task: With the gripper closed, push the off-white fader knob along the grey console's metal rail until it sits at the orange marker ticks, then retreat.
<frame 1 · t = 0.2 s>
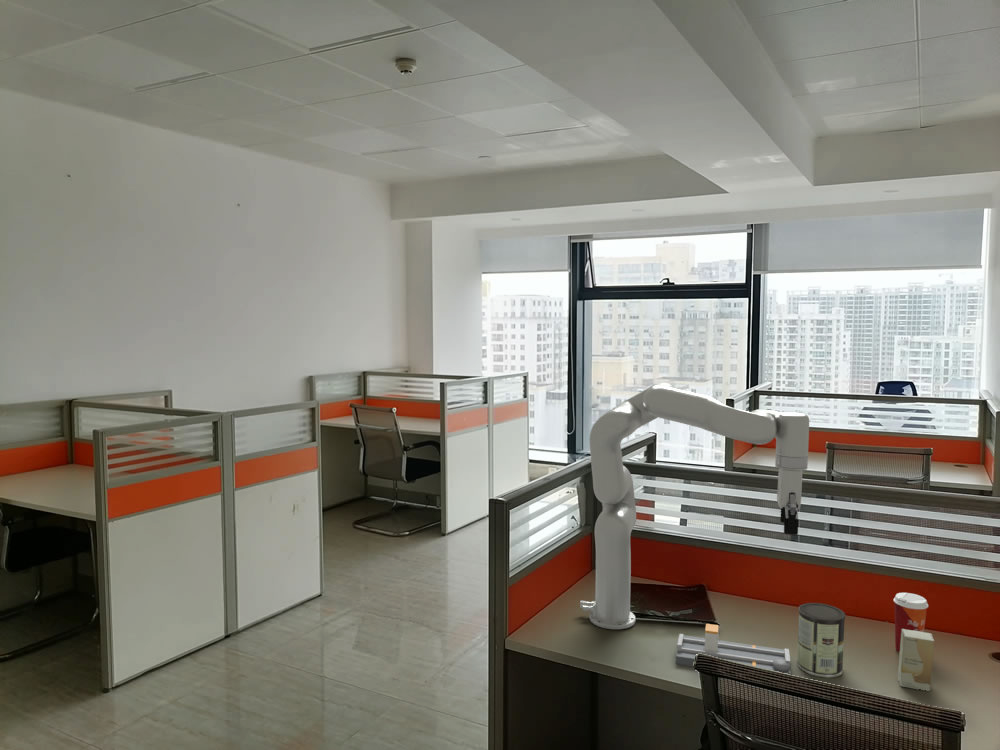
hand: (788, 528, 186), 31 cm above the table, fingers open, 9 cm apart
coffee can: (819, 667, 178), on the table
console: (732, 660, 181), on the table
fader: (711, 638, 182), point 5 cm above the table, slide at -5.0 cm
paper cup: (908, 651, 186), on the table
skincare box: (914, 685, 169), on the table
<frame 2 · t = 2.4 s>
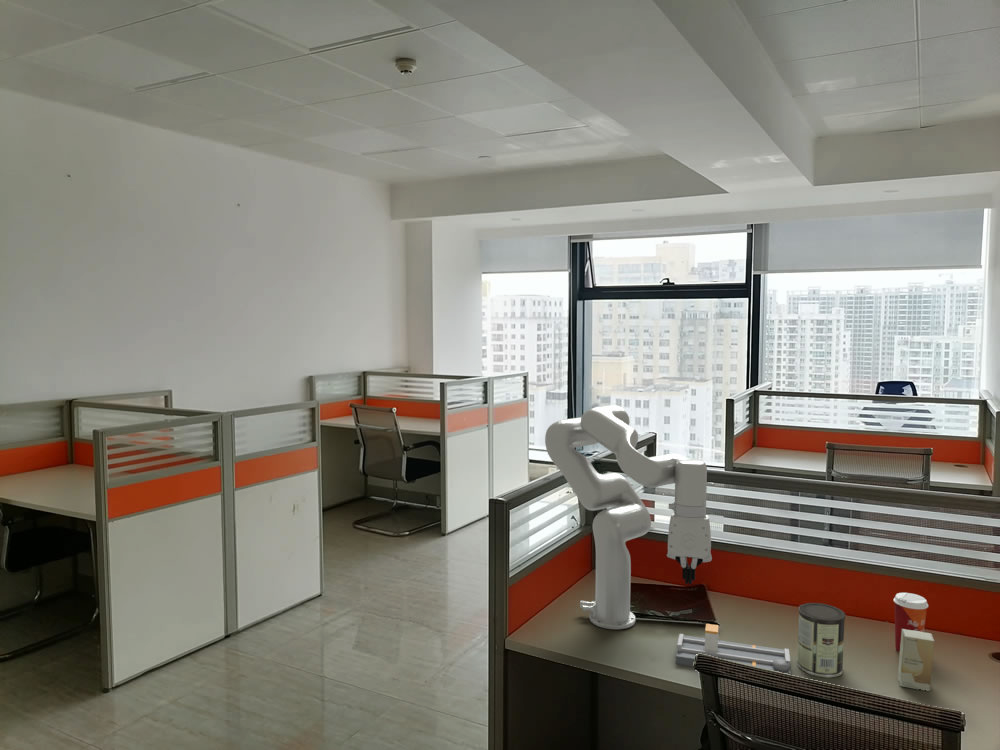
hand: (688, 582, 182), 19 cm above the table, fingers closed
nothing on the table moved.
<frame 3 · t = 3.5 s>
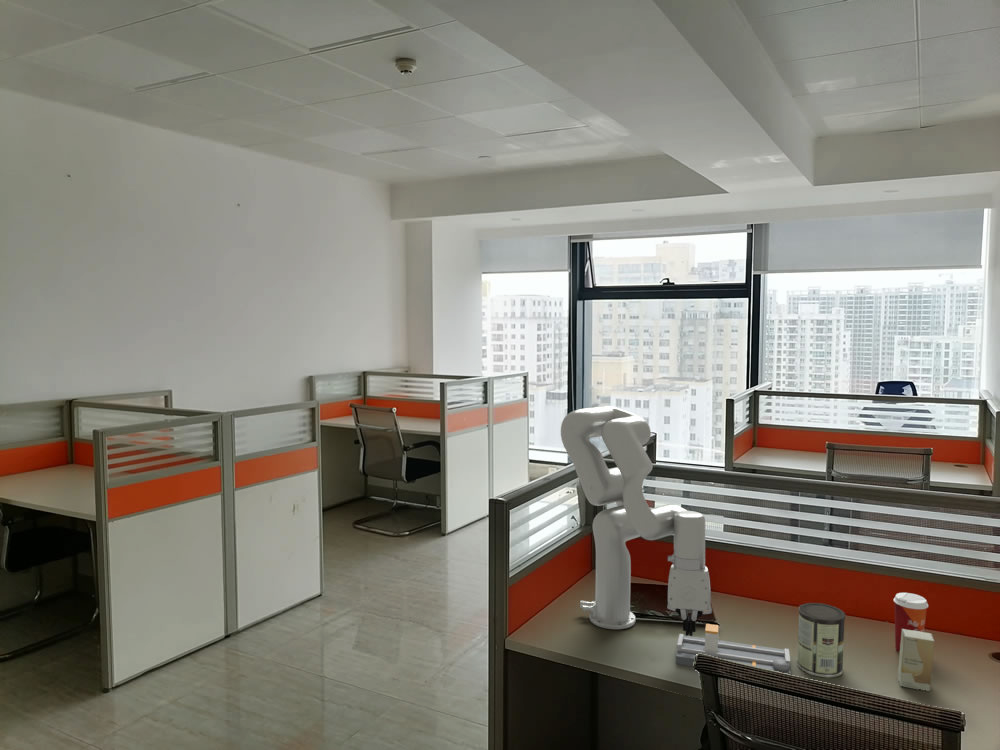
hand: (689, 633, 183), 6 cm above the table, fingers closed
nothing on the table moved.
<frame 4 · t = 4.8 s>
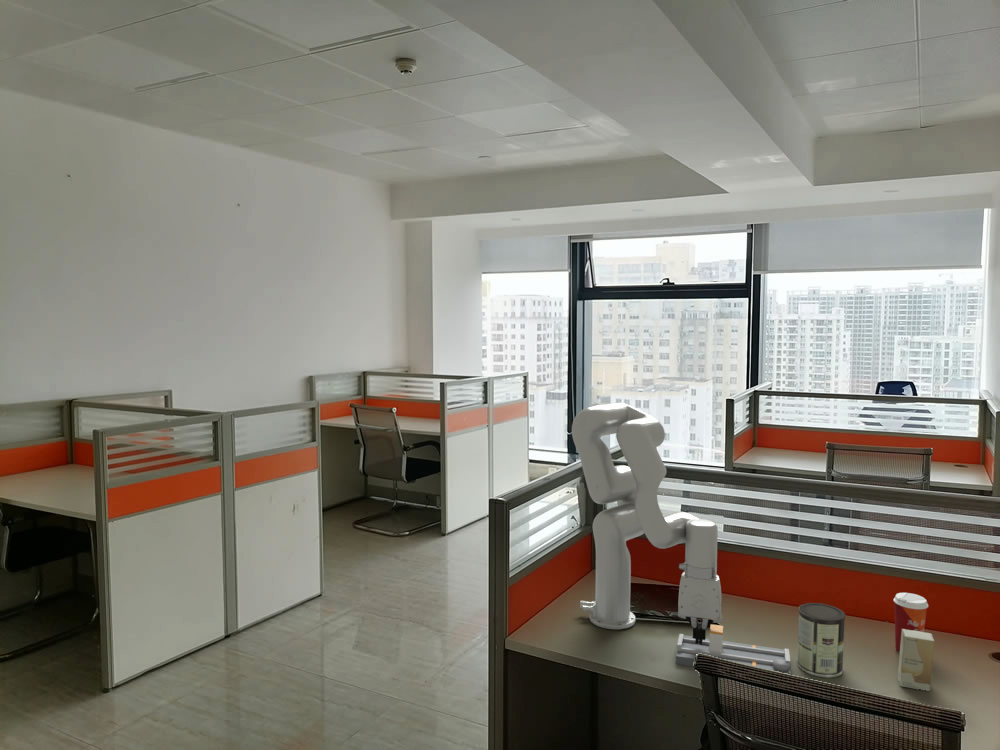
hand: (699, 641, 183), 4 cm above the table, fingers closed
fader: (716, 639, 181), point 5 cm above the table, slide at -3.9 cm, touching gripper
everything else where it was.
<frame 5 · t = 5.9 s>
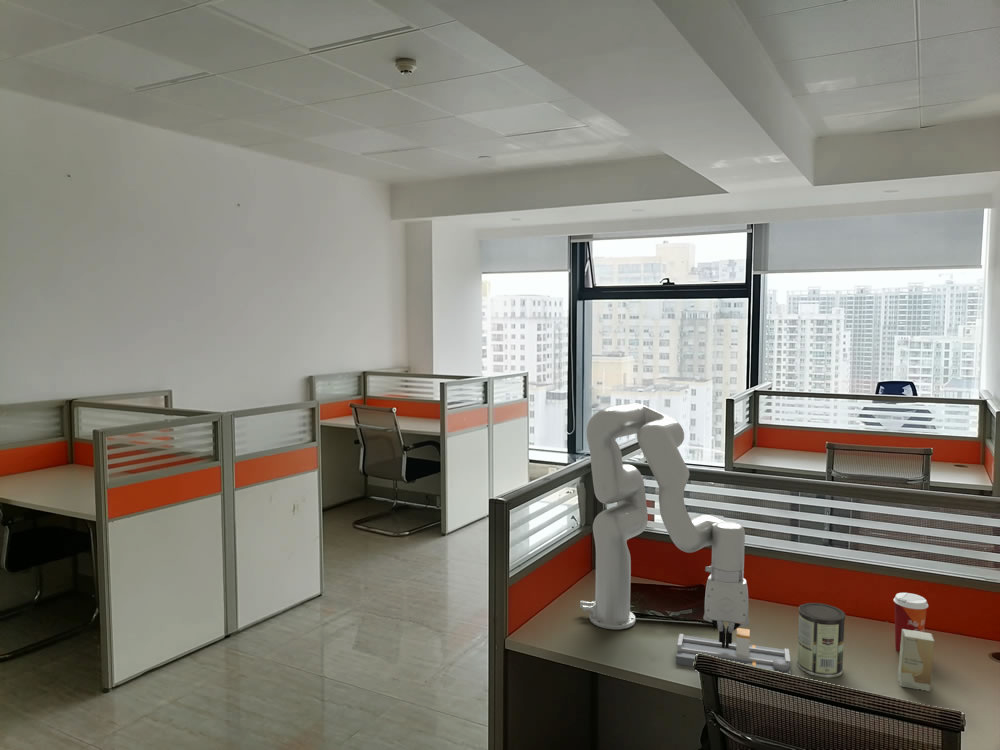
hand: (725, 645, 181), 4 cm above the table, fingers closed
fader: (742, 643, 179), point 5 cm above the table, slide at 2.4 cm, touching gripper
everything else where it was.
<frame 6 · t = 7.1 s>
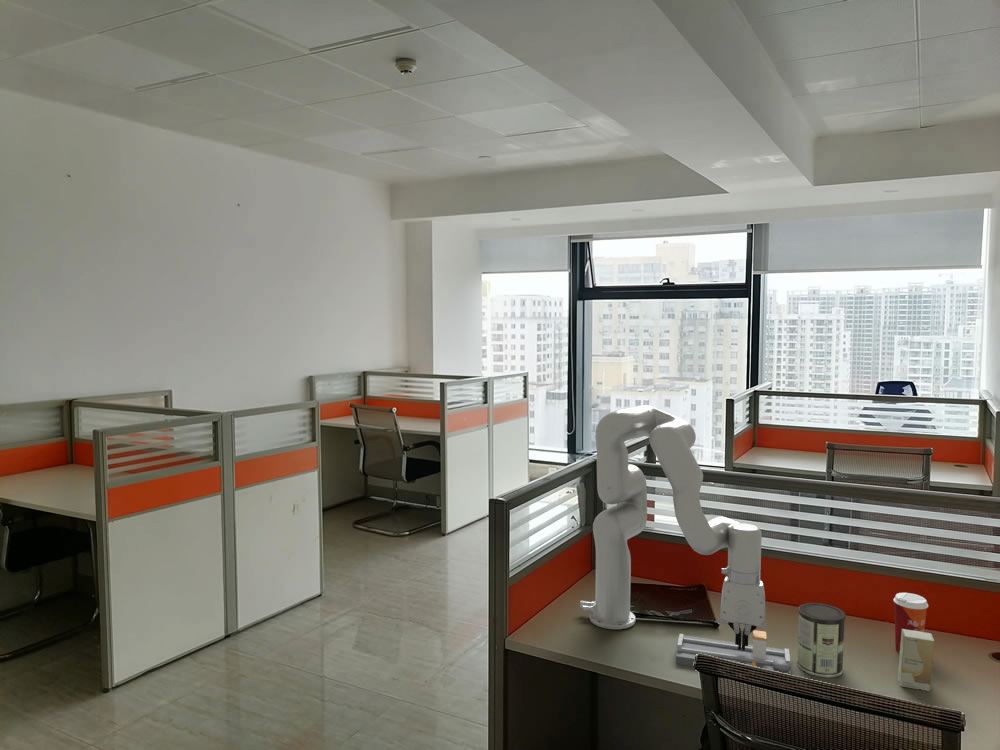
hand: (741, 647, 180), 4 cm above the table, fingers closed
fader: (759, 645, 178), point 5 cm above the table, slide at 6.1 cm, touching gripper
everything else where it was.
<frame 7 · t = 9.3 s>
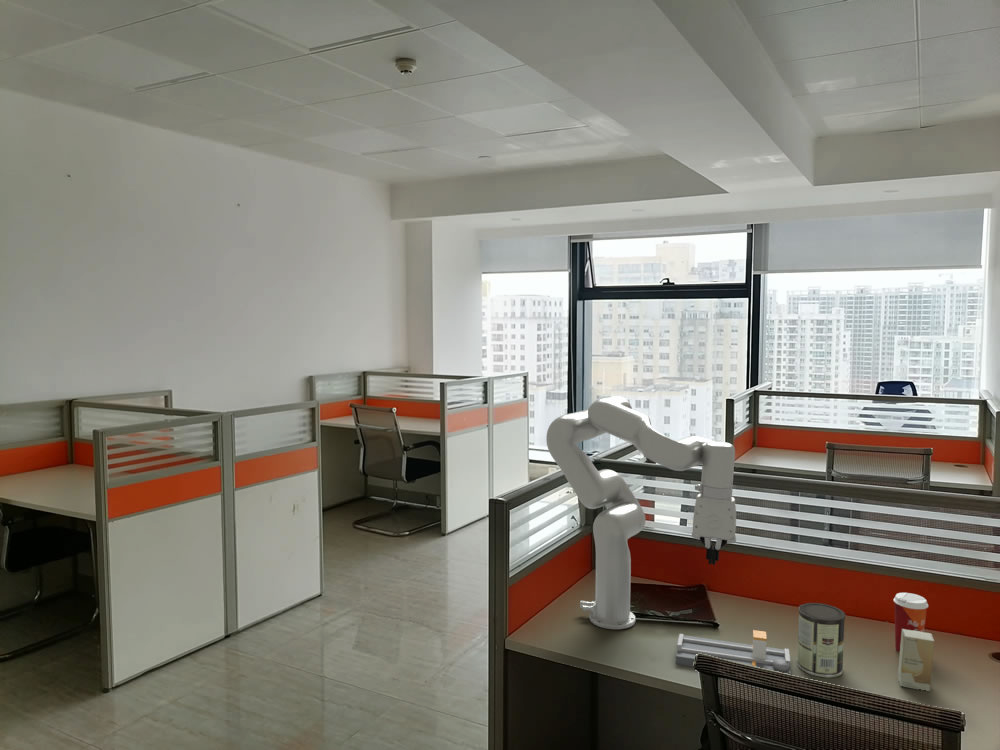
hand: (712, 562, 184), 23 cm above the table, fingers closed
fader: (759, 645, 178), point 5 cm above the table, slide at 6.1 cm
everything else where it was.
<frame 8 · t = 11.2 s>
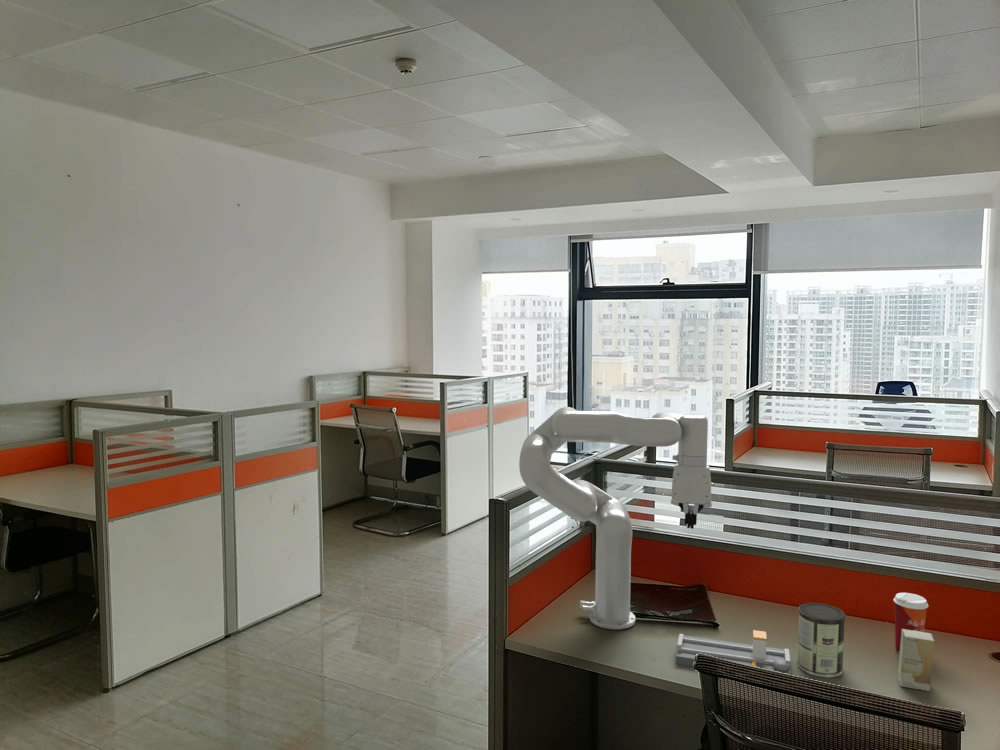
hand: (690, 526, 199), 27 cm above the table, fingers closed
nothing on the table moved.
at the end: fader slide at 6.1 cm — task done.
